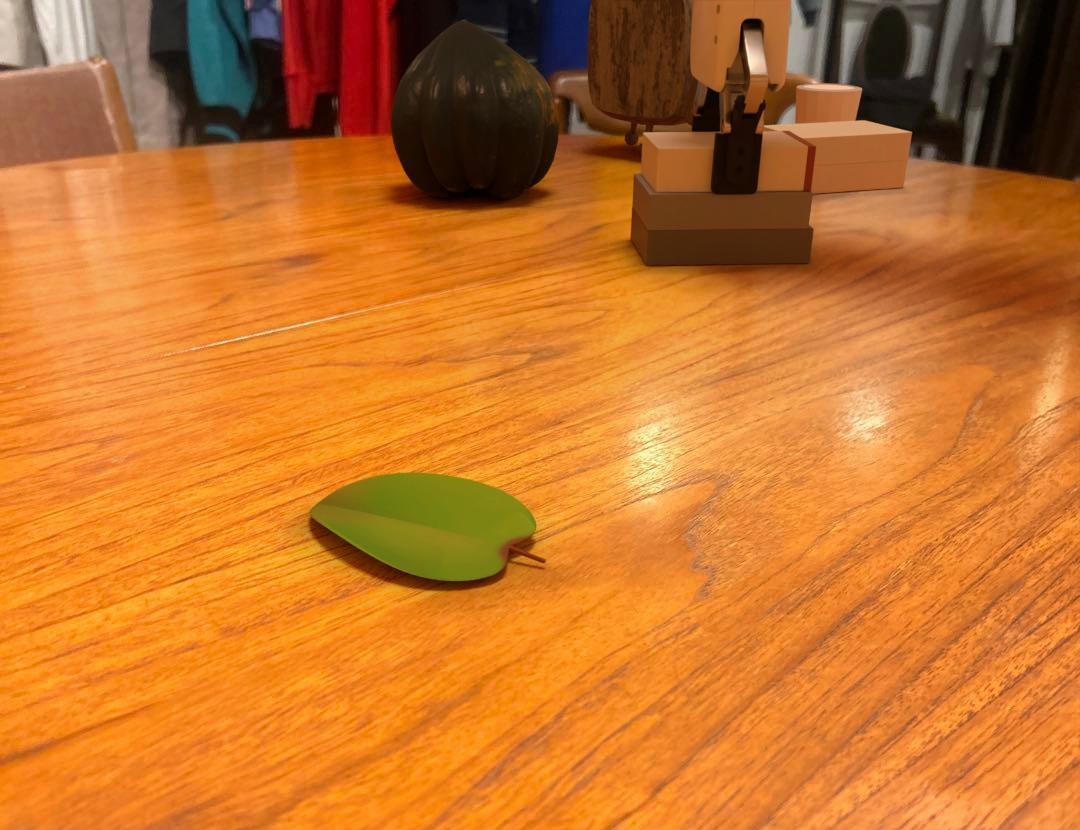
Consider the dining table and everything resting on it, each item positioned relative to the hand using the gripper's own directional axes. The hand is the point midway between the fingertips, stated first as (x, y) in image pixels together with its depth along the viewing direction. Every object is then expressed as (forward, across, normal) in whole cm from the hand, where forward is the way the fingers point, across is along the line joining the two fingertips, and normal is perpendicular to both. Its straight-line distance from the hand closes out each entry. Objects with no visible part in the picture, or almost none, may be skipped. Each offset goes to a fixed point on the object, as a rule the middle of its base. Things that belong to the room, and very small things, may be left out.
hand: (721, 180), depth 80 cm
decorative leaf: (+5, -44, +21) cm, 49 cm away
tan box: (0, 0, 0) cm, 0 cm away
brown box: (+5, 0, 0) cm, 5 cm away
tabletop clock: (+5, +41, -2) cm, 42 cm away
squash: (+5, +22, +18) cm, 29 cm away
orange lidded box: (+5, +25, -16) cm, 30 cm away
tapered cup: (+5, +40, -20) cm, 45 cm away
